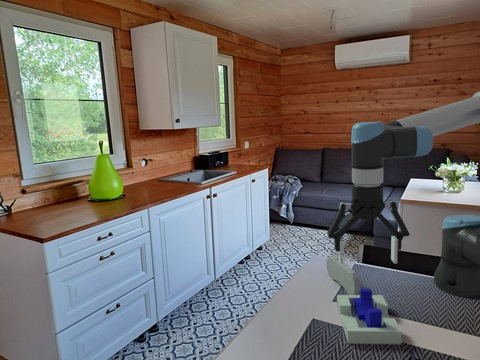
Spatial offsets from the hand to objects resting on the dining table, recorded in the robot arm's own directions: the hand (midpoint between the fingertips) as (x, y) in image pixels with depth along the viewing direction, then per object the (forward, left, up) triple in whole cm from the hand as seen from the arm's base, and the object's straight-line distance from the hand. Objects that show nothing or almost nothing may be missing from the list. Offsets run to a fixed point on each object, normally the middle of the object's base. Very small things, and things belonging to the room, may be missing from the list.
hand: (367, 261), depth 94 cm
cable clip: (0, 0, -17) cm, 17 cm away
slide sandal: (+3, -21, -19) cm, 28 cm away
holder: (0, 0, -18) cm, 18 cm away
